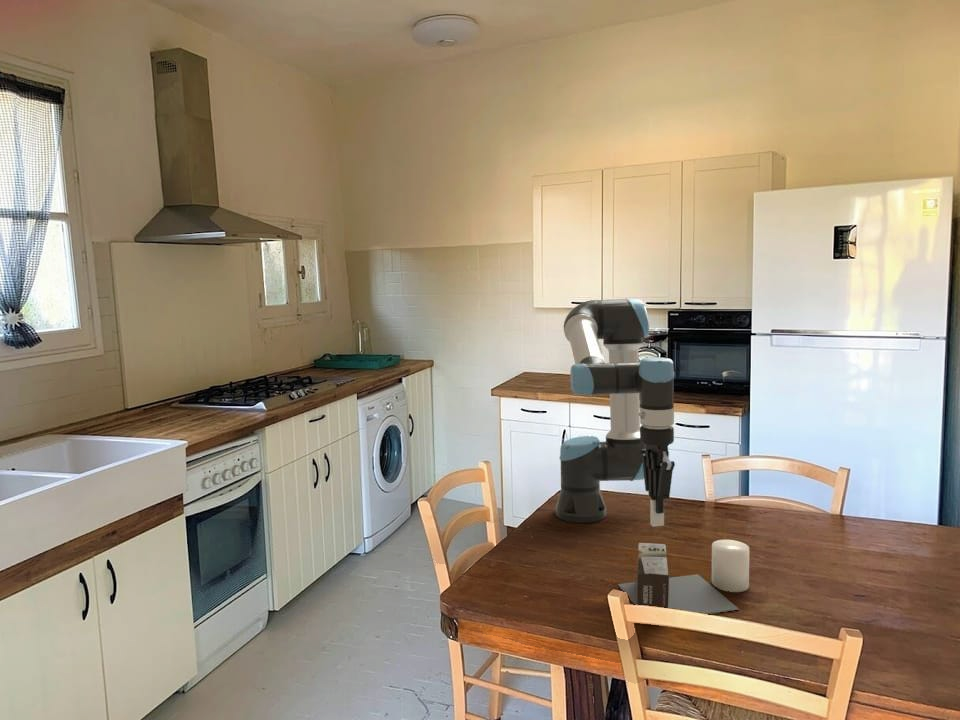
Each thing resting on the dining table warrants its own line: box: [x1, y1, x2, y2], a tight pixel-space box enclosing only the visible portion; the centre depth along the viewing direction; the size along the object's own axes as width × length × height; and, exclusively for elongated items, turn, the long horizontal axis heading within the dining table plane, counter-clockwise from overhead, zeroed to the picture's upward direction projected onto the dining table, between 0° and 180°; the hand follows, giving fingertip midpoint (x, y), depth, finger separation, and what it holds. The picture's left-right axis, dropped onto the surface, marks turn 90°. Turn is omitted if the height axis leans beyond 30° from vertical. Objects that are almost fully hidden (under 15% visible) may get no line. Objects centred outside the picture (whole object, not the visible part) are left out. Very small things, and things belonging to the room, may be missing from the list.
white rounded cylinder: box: [711, 539, 750, 593], centre depth 149 cm, size 8×8×9 cm
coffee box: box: [636, 542, 670, 608], centre depth 144 cm, size 9×6×16 cm
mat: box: [617, 573, 739, 615], centre depth 144 cm, size 17×20×1 cm
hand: (657, 524), depth 151 cm, fingers closed
